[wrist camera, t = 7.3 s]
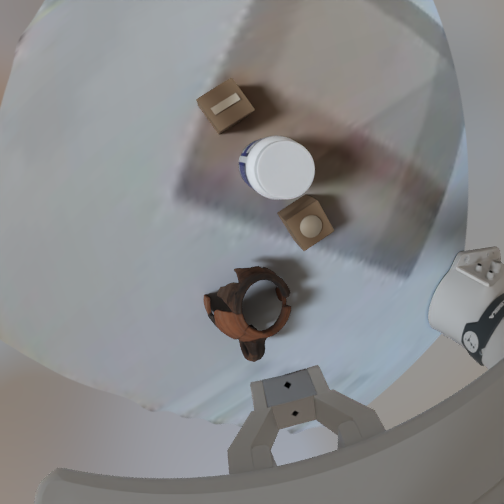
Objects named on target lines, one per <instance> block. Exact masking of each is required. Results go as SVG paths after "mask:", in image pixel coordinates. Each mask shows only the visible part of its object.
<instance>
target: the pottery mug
mask: <svg viewBox="0 0 504 504" xmlns="http://www.w3.org/2000/svg"><path fill="white" fill-rule="evenodd" d="M234 271H235V272H236V273H237V277H238V280H239V283H230V284H228V285H226V286H224V287H221V288H220V289H219V291H218V293H217V296H218V297H220V298H222V299H223V301H224V302H225V303H226V304H227V305H228V307H229V308H230V310H231V311H222V310H215V311H214V315H213V314H212V311H211V303H210V297H208V296H207V295H204V305H205V308H206V311H207V313H208V316H209V318H210V319H211V321H212V322H213V323H214V324H215V325H216V326H217V328H219V330H220V331H221V332H223V333H224V334H226V335H227V336H229V337H231V338H233V339H239V343H240V347H241V350H242V353H243V355H244V357H245V358H246V359H247V360H249V361H253V362H255V361H257V360H260V359H261V358H262V357H263V355H264V353H265V340H266V338H267V337H270V336H273V335H274V334H276V333H277V332H279V331H280V330H281V329H282V328H283V326H284V325H285V324H286V322H287V320H288V318H289V315H290V312H291V306H289V305H286V298H287V297H288V296H289V294H290V290H289V288H288V286H287V284H286V283H285V282H284V280H283V279H282V278H280V277H279V276H277V275H276V274H275V273H274V272H273V271H271V270H269V269H268V268H265V267H263V268H261V267H259V266H256V267H251V268H237V269H234ZM259 280H270V281H272V282H273V283H275V284H276V285H277V286H278V287H277V288H276V293H277V296H278V299H279V300H280V301H282V309H281V313H280V315H279V318H278V319H277V321H276V322H275V324H274V325H272V326H271V327H270V328H268V329H266V330H262V331H259V330H257V329H256V328H255V327H254V326H253V325H252V324H251V325H248V324H247V323H246V321H245V319H244V316H243V313H242V302H243V298H244V296H245V293H246V291H247V290H248V288H249V287H250V286H251V285H252V284H254V283H255V282H257V281H259Z"/></svg>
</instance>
